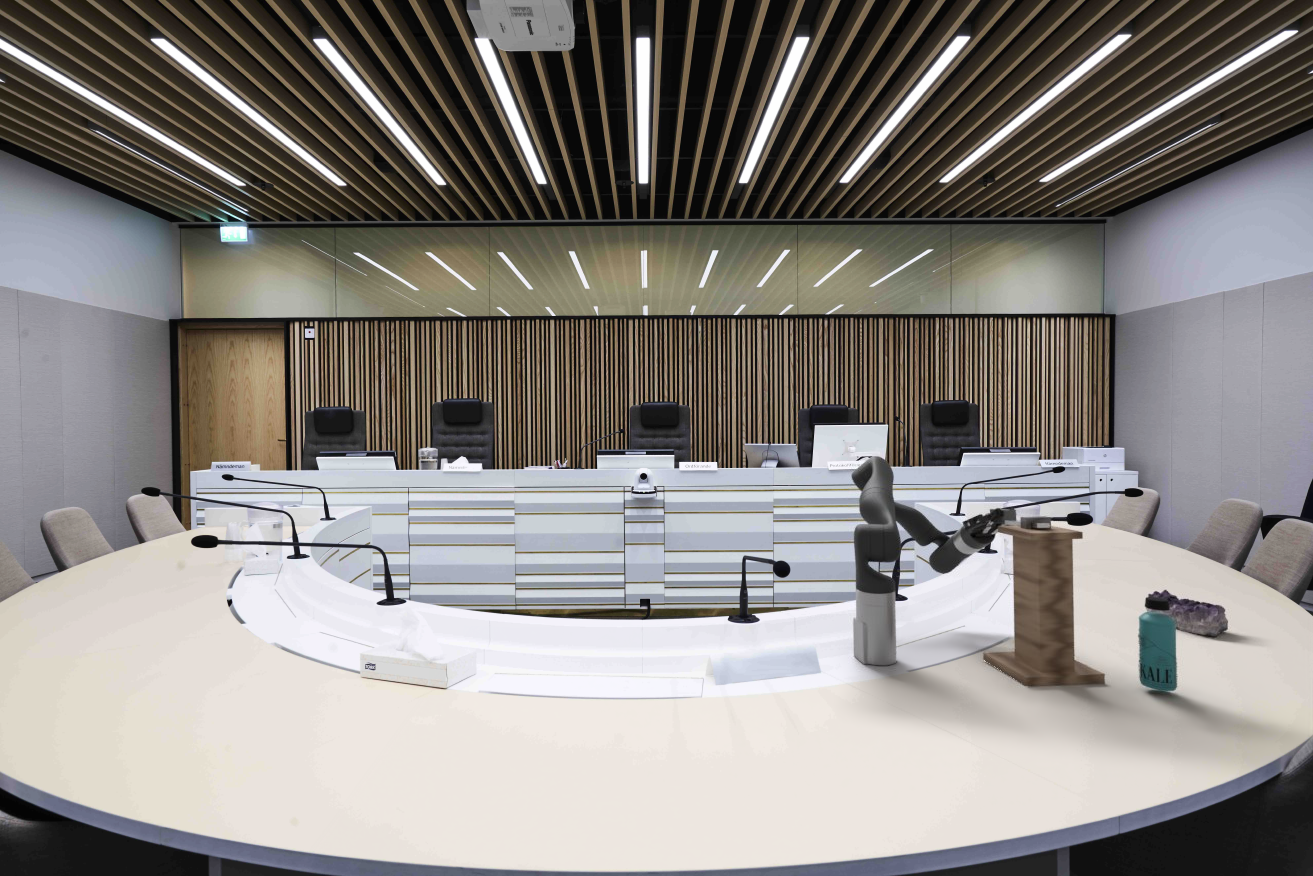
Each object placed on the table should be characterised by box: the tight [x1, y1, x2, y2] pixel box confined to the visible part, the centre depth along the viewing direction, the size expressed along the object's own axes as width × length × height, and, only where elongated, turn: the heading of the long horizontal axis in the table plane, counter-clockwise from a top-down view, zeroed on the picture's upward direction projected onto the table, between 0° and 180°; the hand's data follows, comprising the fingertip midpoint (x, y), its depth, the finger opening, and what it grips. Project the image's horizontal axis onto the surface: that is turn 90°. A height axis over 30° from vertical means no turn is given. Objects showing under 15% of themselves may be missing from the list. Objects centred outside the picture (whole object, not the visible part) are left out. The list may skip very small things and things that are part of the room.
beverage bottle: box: [1137, 596, 1179, 692], centre depth 133 cm, size 6×7×20 cm
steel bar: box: [989, 508, 1050, 528], centre depth 153 cm, size 3×18×4 cm, turn 4°
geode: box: [1145, 589, 1229, 638], centre depth 178 cm, size 20×12×10 cm, turn 17°
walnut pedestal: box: [982, 515, 1106, 687], centre depth 146 cm, size 18×16×36 cm
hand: (1006, 511), depth 158 cm, fingers closed on steel bar, 3 cm apart
